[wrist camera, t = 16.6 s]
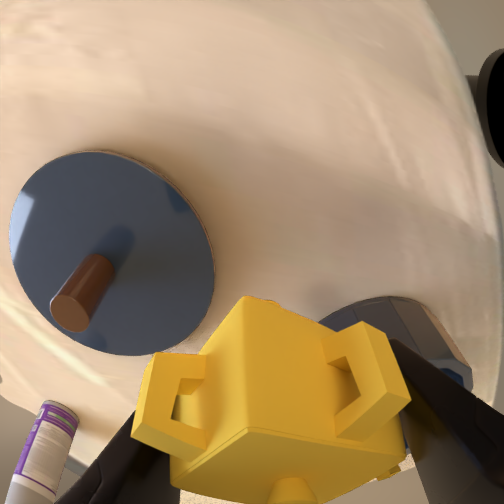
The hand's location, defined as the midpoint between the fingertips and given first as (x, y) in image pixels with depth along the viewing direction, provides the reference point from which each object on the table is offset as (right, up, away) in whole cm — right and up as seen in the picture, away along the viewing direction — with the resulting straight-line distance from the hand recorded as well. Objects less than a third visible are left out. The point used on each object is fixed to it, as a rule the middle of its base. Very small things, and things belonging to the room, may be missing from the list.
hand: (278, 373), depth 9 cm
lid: (-10, +3, +10) cm, 14 cm away
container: (-22, -14, +19) cm, 32 cm away
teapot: (+1, +1, +1) cm, 1 cm away
